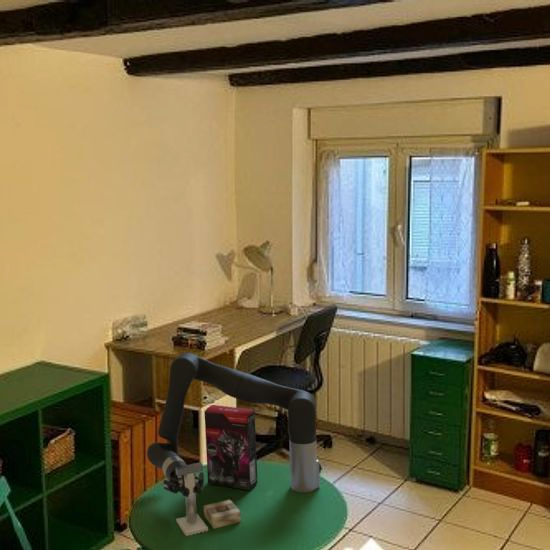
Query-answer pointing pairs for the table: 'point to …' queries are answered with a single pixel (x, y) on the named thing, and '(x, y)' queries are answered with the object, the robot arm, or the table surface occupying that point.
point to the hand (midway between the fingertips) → (193, 492)
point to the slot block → (222, 513)
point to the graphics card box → (231, 446)
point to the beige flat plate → (192, 526)
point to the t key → (190, 488)
